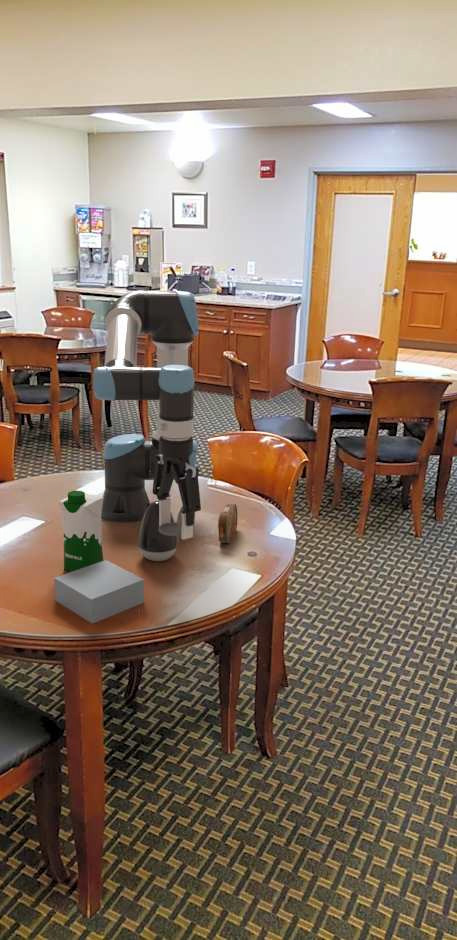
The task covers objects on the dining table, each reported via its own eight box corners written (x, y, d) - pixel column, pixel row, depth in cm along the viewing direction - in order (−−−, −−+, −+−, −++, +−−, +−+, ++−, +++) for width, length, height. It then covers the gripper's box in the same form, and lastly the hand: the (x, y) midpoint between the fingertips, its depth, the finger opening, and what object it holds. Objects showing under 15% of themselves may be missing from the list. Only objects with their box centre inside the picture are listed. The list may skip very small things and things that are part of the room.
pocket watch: (158, 526, 170) (158, 486, 167) (194, 526, 171) (194, 486, 168) (158, 540, 162) (158, 498, 159) (196, 540, 163) (196, 498, 160)
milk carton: (58, 570, 177) (54, 493, 171) (80, 557, 185) (77, 482, 179) (88, 577, 174) (85, 499, 168) (109, 563, 182) (107, 488, 176)
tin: (227, 548, 193) (228, 518, 190) (216, 547, 193) (216, 517, 191) (238, 527, 207) (239, 500, 204) (227, 526, 207) (228, 499, 205)
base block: (55, 602, 162) (54, 577, 161) (106, 583, 172) (105, 559, 170) (92, 625, 153) (91, 599, 151) (144, 603, 163) (143, 579, 161)
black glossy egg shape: (147, 568, 179) (146, 511, 175) (132, 553, 188) (131, 498, 183) (184, 561, 184) (185, 505, 179) (168, 546, 193) (168, 492, 188)
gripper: (136, 428, 165) (137, 521, 172) (191, 450, 150) (189, 551, 157) (163, 424, 170) (163, 514, 177) (219, 444, 154) (216, 542, 161)
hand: (175, 531), depth 167 cm, fingers closed on pocket watch, 8 cm apart
